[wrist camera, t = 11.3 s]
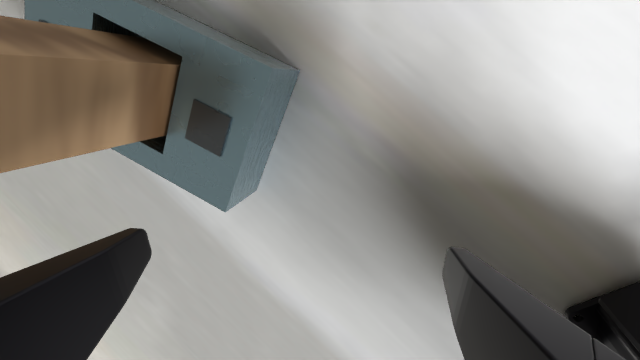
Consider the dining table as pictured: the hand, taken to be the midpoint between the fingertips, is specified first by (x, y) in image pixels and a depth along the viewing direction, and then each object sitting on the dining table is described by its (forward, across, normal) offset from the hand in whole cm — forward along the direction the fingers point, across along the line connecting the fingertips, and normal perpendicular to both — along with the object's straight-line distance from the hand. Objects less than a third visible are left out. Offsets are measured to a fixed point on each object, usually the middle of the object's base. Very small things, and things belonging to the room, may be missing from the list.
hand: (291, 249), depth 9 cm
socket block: (+14, +10, -3) cm, 18 cm away
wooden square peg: (+14, +10, -3) cm, 18 cm away
